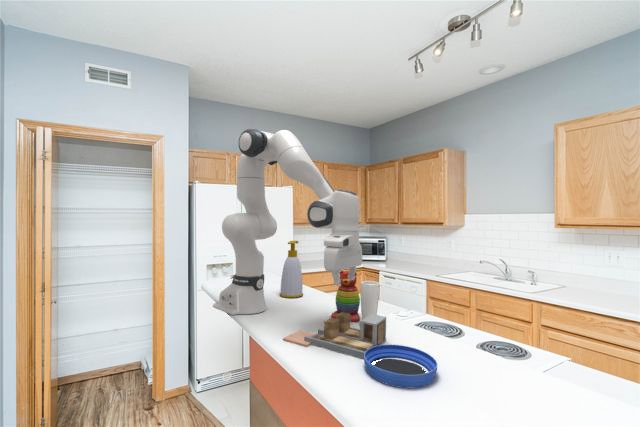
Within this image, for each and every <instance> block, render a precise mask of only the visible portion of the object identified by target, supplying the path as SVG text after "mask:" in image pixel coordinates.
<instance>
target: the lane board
mask: <svg viewBox="0 0 640 427" xmlns="http://www.w3.org/2000/svg"><path fill="white" fill-rule="evenodd" d="M359 321H360V322H359V328H355V327H351V326H350V329H352V330H356V331H360V339H358V338H354V337H350V336H345V335H341V334H339V336H342V337H346V338H350V339H354V340H358V341H362V342H366V343H370V344H374V346H378V345H384V343H386V341H387V316H384V315H378V314H377V315H374V314H371V315H369V316H368V317H366V318H364V319H363V320H362V319H360V320H359ZM381 322H384V336H383V341H382V342H381V343H380V344H378V345H377V325H378V324H380V323H381ZM365 324H368V325H373V337H372V342H370V341H366V340H364V325H365ZM315 334H316V335H317V336H316V335H314V336H316V337H313V336H312V338H311V337H308V336H305V337H304V341H307V342H311V345H312V346H315V347H318V348H322V349H327V350H330V351H333V352H337V353H340V354H344V355H346V356H350V355H351V356H350V357H354V358H357V359H362V360H364V353H365V351H361V350H357V349H353V348H349V347H346V346H342V345H338V344H334V343H330V342H327V341H323V340H319V337H318V335H320V336H321V335H323V334H324V329H320V328H319V329H317V333H315ZM315 338H317V339H315ZM311 345H310V346H311Z"/></svg>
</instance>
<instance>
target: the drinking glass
mask: <svg viewBox="0 0 640 427" xmlns="http://www.w3.org/2000/svg"><path fill="white" fill-rule="evenodd" d="M359 289H360V290H359V291H360V292H359V297H360V310H361V314H360V315H361V320H363V319H364V318H366V317H368V316H369V315H371V314H374V315H378V307H379V300H380V299H379V298H380V283H379V282H377V281H374V280H364V281H361V282H360V288H359Z"/></svg>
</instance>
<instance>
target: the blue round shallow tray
mask: <svg viewBox="0 0 640 427" xmlns="http://www.w3.org/2000/svg"><path fill="white" fill-rule="evenodd" d="M380 359H383V360H381V361H378V362H376V364H375V365H372V364H371V363H372V362H373V361H376V360H380ZM363 360H364V365H365V370H366V372H367V373H368V374H369V376H370V377H371V378H373V379H375V380H376V379H377V380H376V381H378V380H379V381H378V382H380V381H381V383H383V382H384V383H383V384H385V383H387V384H386V385H388V384H389V386H392V385H393V387H397V386H399V387H398V388H405V387H415V388H420V387H419V386H422V387H425V386H428V385H430V384H431V383H432V382H433V381H434V379H435V375H436V374H437V372H438V362H437V360H436V359H435V358H434V356H432V355H431V354H429V353H428V352H425V351H423V350H421V349H418V348H416V347H415V348H414V347H411V346H407V345H403V344H402V345H401V344H382V345H378V346H374V347H371V348H369V349H368V350H367V351H366V352H365V353H364V359H363ZM410 361H411V362H410ZM422 368H423V370H422ZM424 368H425V369H426V370H427V371H428V372H427V371H426V370H425V369H424ZM424 370H425V371H424ZM425 372H427V373H425ZM424 385H425V386H424Z"/></svg>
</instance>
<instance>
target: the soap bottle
mask: <svg viewBox="0 0 640 427" xmlns="http://www.w3.org/2000/svg"><path fill="white" fill-rule="evenodd" d="M296 244H299V241H298V240H290V241H288V242H287V245H290V249H289V250H287V251H288V252H287V257H286V258H285V260H284V264H283V267H282V271H281V272H282V273H281V274H282V275H281V280H280V292H279V296H281V297H283V298H285V297H286V299H297V298H296V297H298V298H301V297H303V295H304V292H303V274H302V266H301V261H300V259H299V257H298V250H296V249H295V247H296ZM300 296H301V297H300Z"/></svg>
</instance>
